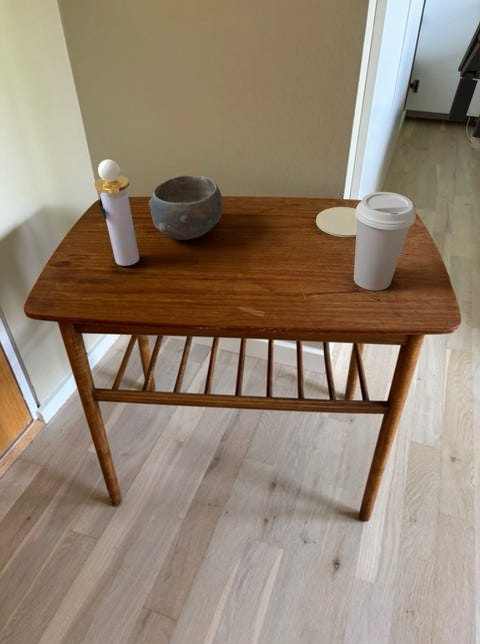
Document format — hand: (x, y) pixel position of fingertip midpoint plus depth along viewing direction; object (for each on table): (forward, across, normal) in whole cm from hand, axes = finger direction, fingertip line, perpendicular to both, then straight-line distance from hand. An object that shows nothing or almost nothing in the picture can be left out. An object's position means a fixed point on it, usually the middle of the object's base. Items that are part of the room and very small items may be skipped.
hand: (467, 129), depth 77 cm
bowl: (+28, -8, -45) cm, 54 cm away
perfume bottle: (+31, +3, -55) cm, 63 cm away
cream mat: (+23, -14, -13) cm, 30 cm away
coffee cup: (+26, +6, -10) cm, 28 cm away
